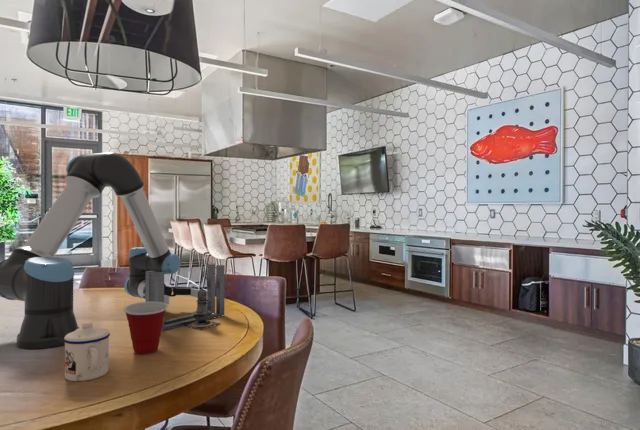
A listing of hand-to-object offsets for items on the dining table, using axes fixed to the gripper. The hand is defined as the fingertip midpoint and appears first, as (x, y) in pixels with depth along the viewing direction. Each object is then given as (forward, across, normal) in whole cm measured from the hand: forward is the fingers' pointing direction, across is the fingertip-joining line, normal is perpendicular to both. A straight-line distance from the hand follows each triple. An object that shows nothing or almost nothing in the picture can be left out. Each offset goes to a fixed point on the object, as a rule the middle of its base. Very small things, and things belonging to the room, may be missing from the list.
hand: (186, 297), depth 145 cm
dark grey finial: (+12, +2, -7) cm, 14 cm away
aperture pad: (+12, +2, -7) cm, 14 cm away
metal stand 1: (+1, +2, -7) cm, 8 cm away
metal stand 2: (+6, +2, -7) cm, 10 cm away
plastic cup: (+22, +27, -8) cm, 35 cm away
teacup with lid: (+28, +44, -8) cm, 53 cm away
